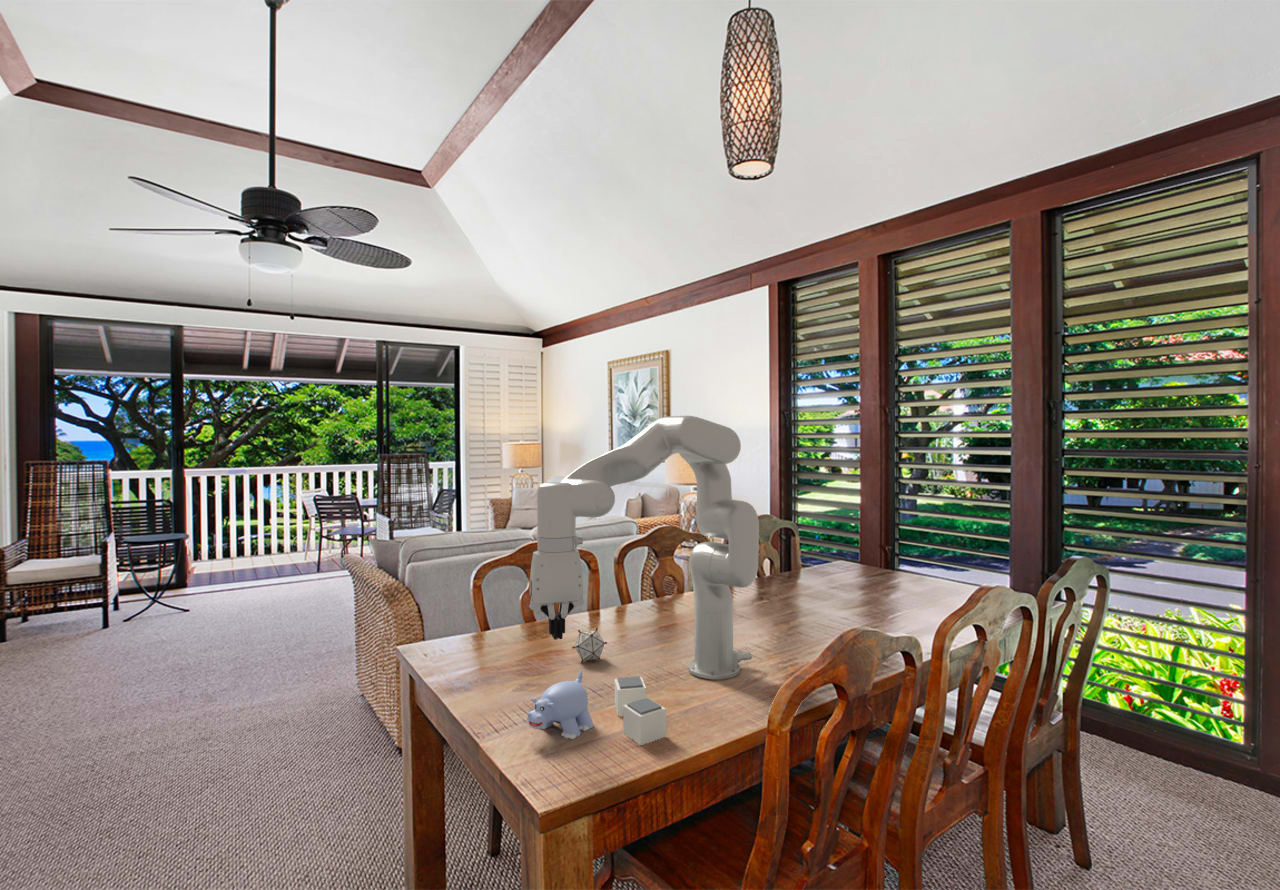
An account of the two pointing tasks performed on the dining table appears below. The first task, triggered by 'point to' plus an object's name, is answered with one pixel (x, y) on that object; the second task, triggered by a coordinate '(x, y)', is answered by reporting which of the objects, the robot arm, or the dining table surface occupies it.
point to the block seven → (644, 721)
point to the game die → (589, 645)
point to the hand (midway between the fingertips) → (557, 637)
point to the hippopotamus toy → (563, 708)
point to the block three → (628, 691)
